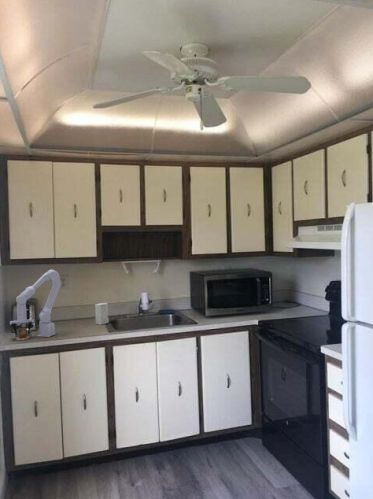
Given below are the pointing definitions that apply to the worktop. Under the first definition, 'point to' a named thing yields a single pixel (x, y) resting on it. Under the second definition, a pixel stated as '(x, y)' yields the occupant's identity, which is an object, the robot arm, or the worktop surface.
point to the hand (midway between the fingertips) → (22, 334)
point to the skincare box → (101, 313)
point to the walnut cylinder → (22, 333)
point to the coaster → (22, 339)
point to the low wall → (27, 334)
